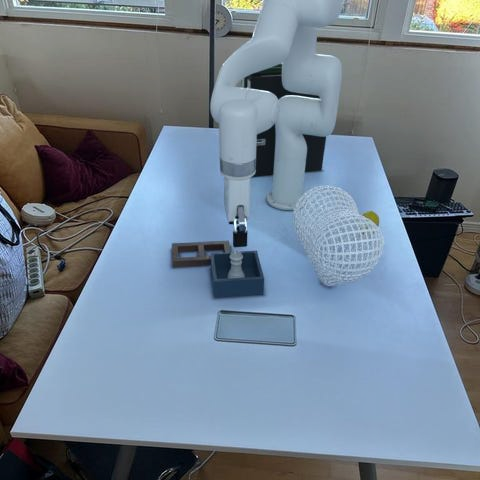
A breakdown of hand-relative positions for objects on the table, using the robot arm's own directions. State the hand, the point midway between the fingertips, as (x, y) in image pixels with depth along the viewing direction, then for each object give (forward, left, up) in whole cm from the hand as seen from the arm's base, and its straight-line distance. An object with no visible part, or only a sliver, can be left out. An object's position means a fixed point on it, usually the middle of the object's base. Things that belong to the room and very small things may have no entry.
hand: (237, 234), depth 109 cm
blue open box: (0, 0, -14) cm, 14 cm away
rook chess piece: (+1, 0, -13) cm, 13 cm away
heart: (+3, +22, -14) cm, 26 cm away
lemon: (-18, +40, -14) cm, 46 cm away
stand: (-12, -8, -14) cm, 20 cm away
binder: (-67, +24, -14) cm, 72 cm away
